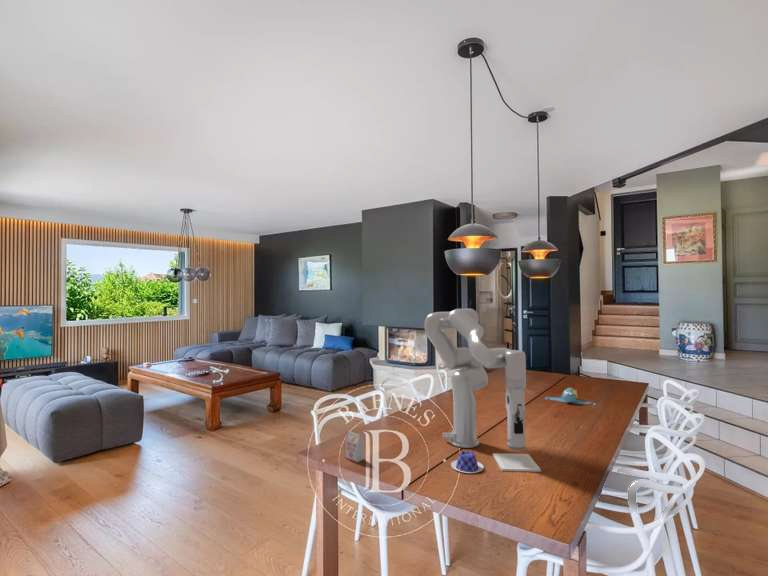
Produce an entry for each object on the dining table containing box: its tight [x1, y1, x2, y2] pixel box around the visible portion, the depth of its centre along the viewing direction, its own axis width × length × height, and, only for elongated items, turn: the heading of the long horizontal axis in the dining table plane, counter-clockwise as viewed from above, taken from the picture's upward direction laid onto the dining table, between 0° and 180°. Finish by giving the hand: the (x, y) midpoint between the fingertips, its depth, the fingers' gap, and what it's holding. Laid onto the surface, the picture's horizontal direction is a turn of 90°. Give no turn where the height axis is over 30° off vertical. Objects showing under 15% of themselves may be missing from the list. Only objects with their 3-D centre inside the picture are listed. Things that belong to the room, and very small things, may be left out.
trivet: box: [492, 452, 542, 473], centre depth 153 cm, size 14×14×1 cm
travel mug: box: [506, 396, 526, 451], centre depth 153 cm, size 6×7×20 cm
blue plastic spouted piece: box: [544, 387, 597, 406], centre depth 239 cm, size 28×9×15 cm
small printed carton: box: [344, 430, 365, 463], centre depth 157 cm, size 4×7×10 cm, turn 49°
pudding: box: [450, 450, 484, 474], centre depth 150 cm, size 12×12×5 cm
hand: (515, 429), depth 153 cm, fingers closed on travel mug, 6 cm apart
